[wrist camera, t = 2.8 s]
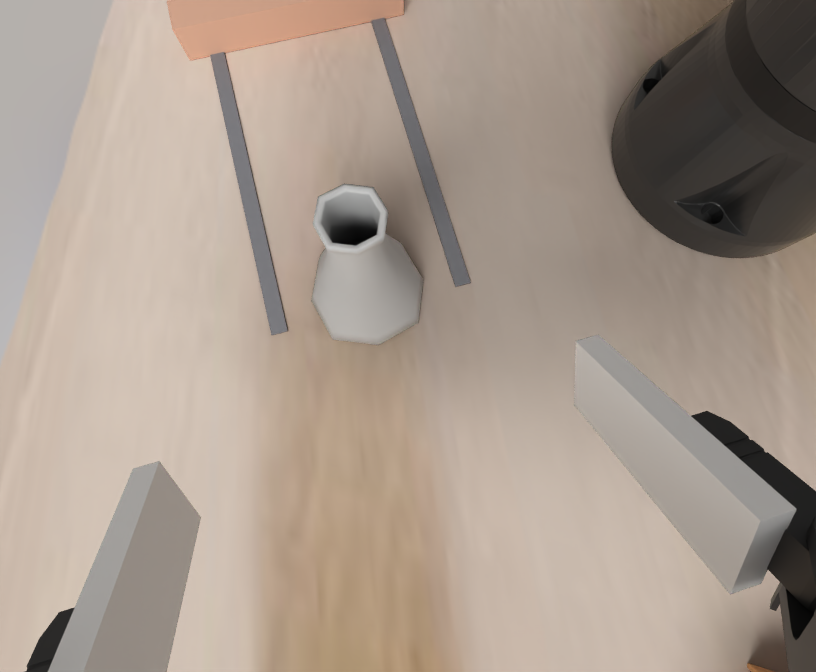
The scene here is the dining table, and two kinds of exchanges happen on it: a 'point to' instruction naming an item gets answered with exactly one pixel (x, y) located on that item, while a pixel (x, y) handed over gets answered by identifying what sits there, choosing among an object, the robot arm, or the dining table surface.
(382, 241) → the flask
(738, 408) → the dining table surface
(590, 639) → the dining table surface
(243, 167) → the stop bar lane
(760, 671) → the arch
